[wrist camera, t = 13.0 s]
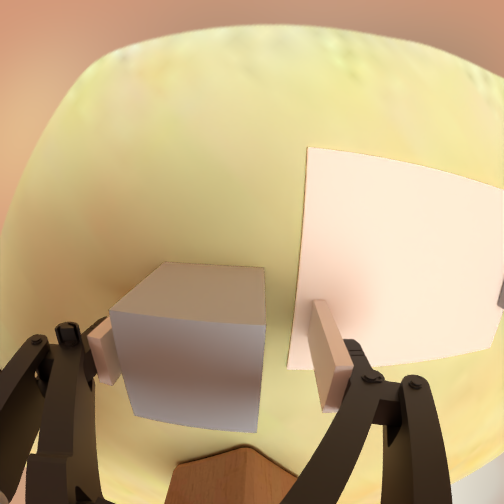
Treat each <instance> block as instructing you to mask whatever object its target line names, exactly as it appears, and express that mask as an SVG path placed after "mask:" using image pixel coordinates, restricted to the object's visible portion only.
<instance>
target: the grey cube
mask: <svg viewBox="0 0 504 504" xmlns="http://www.w3.org/2000/svg"><path fill="white" fill-rule="evenodd" d="M497 306H499V307H501V308H502V309H504V283H503V287H502V291H501V295H500V298H499V302H498V305H497Z"/></svg>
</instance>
